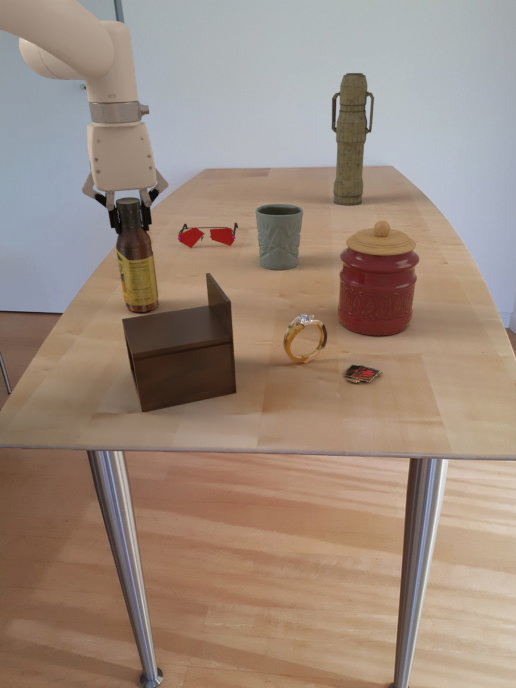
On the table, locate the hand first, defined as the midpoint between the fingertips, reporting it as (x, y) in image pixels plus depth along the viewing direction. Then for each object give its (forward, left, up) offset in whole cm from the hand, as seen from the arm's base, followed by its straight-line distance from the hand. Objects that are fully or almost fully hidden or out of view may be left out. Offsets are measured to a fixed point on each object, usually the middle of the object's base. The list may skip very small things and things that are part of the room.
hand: (131, 229), depth 95 cm
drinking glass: (+32, +13, -15) cm, 38 cm away
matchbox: (+26, -37, -15) cm, 48 cm away
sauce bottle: (0, 0, -15) cm, 15 cm away
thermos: (+71, +57, -15) cm, 92 cm away
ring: (+20, -30, -15) cm, 39 cm away
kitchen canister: (+37, -21, -15) cm, 45 cm away
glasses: (+22, +37, -15) cm, 46 cm away
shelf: (+1, -29, -15) cm, 33 cm away
